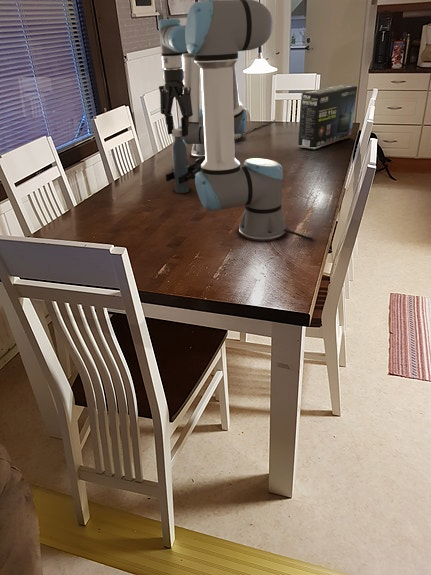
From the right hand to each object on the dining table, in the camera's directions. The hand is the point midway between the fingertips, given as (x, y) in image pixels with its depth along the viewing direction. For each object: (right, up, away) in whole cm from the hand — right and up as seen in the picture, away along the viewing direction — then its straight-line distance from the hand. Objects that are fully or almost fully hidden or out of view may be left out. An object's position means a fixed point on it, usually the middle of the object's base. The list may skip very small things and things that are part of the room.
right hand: (178, 134), depth 176 cm
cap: (0, +1, -1) cm, 2 cm away
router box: (+73, +18, +69) cm, 102 cm away
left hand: (-2, -16, +5) cm, 17 cm away
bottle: (+1, -19, +12) cm, 22 cm away
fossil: (+22, +26, +86) cm, 92 cm away
